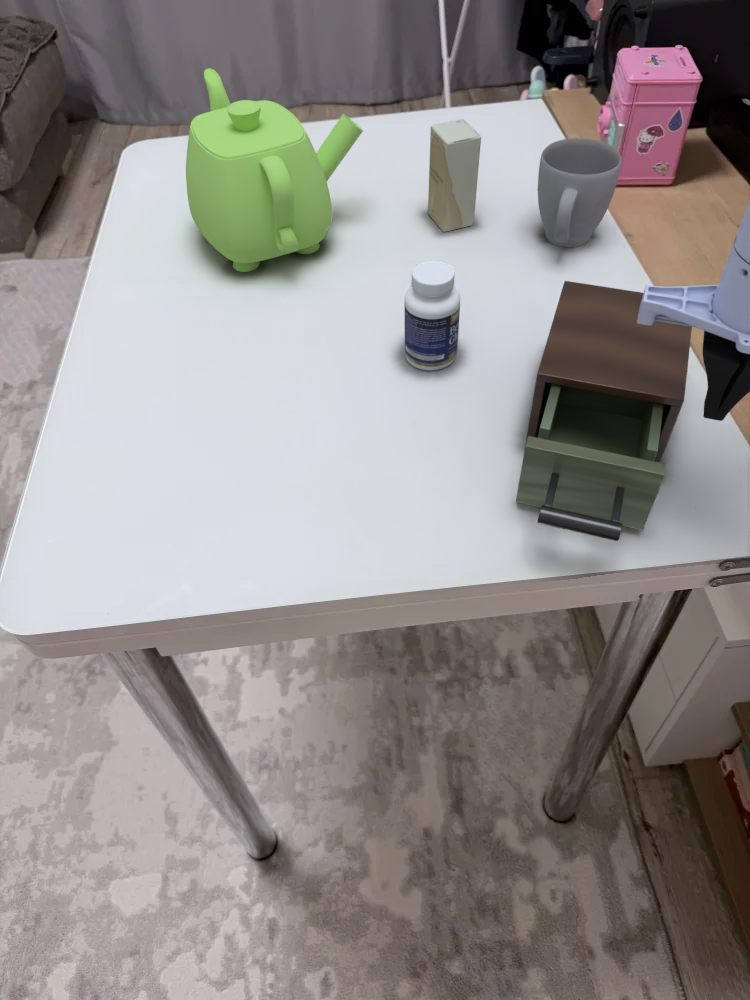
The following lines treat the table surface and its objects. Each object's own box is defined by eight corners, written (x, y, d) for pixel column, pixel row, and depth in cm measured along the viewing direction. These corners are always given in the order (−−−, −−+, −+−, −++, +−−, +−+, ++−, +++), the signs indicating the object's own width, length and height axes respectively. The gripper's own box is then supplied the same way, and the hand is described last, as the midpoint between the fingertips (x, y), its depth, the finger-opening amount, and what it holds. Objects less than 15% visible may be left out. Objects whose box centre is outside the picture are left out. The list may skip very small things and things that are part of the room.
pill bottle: (458, 372, 74) (463, 288, 67) (404, 372, 75) (404, 290, 67) (455, 337, 78) (460, 255, 70) (404, 338, 78) (403, 256, 70)
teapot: (403, 253, 88) (402, 115, 76) (231, 305, 83) (200, 166, 71) (322, 165, 103) (310, 37, 91) (171, 204, 98) (137, 74, 85)
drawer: (636, 579, 57) (659, 525, 52) (503, 547, 59) (511, 492, 54) (657, 425, 67) (677, 367, 62) (542, 403, 70) (553, 346, 64)
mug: (539, 211, 93) (550, 133, 86) (610, 222, 91) (628, 142, 83) (516, 263, 86) (526, 183, 79) (593, 276, 84) (610, 195, 76)
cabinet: (656, 472, 65) (684, 400, 58) (524, 445, 68) (537, 373, 61) (669, 373, 73) (694, 300, 66) (551, 353, 76) (564, 280, 69)
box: (426, 213, 94) (428, 123, 85) (458, 205, 95) (462, 116, 86) (443, 234, 91) (447, 142, 82) (475, 226, 91) (482, 135, 83)
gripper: (655, 268, 45) (609, 427, 56) (921, 307, 42) (819, 468, 52) (665, 210, 49) (620, 367, 60) (907, 240, 46) (815, 402, 56)
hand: (713, 410), depth 56 cm, fingers closed
